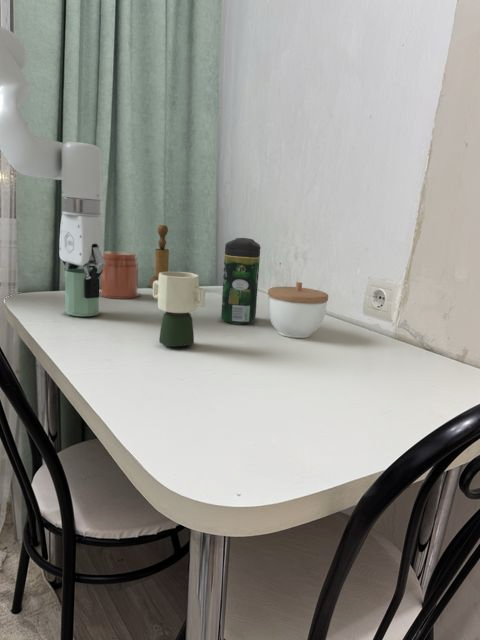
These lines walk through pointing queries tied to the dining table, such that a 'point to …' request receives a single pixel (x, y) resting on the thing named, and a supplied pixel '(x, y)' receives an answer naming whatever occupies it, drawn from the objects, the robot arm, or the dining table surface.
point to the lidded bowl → (296, 310)
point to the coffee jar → (240, 281)
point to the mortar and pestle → (161, 255)
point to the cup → (78, 295)
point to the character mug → (178, 306)
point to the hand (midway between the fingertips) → (82, 293)
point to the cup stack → (119, 275)
